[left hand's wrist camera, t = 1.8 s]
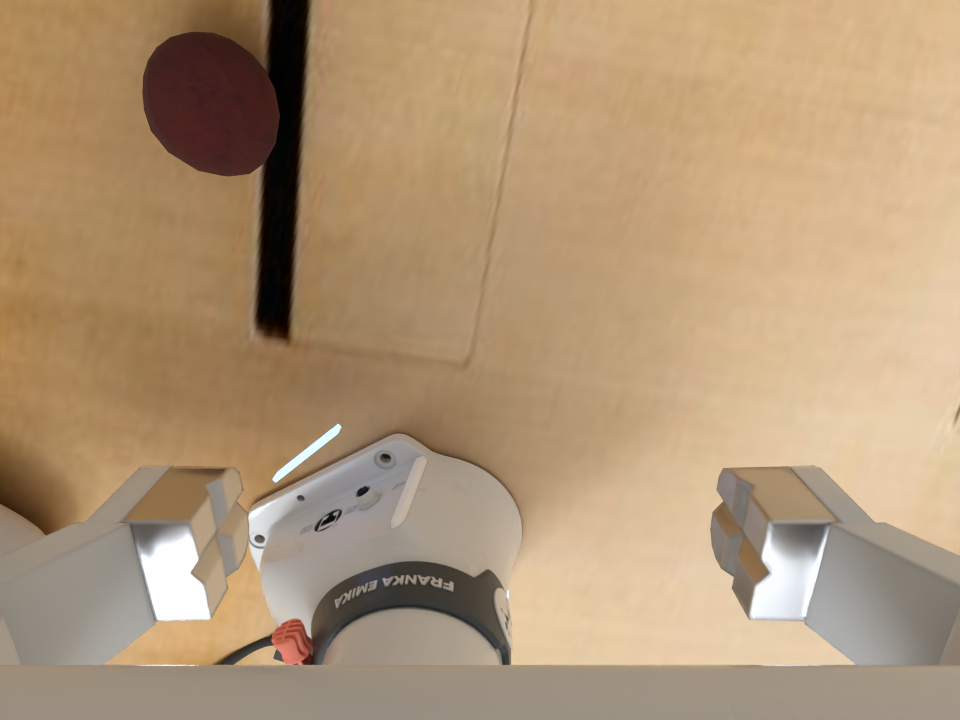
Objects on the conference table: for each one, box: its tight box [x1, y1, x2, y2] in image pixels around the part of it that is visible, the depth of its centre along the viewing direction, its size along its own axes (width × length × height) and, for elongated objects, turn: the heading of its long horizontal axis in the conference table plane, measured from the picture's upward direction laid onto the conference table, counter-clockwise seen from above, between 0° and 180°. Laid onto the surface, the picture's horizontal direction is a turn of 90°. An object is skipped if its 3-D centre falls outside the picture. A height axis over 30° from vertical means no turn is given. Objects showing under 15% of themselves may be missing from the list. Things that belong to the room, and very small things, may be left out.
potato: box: [143, 32, 280, 176], centre depth 34 cm, size 7×8×7 cm
